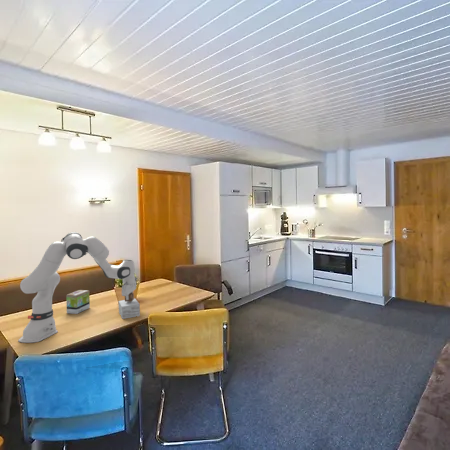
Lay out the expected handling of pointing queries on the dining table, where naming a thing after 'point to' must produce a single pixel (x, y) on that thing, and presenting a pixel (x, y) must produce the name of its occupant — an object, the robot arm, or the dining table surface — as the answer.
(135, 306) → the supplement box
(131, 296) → the walnut block
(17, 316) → the dining table surface
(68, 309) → the tea box
